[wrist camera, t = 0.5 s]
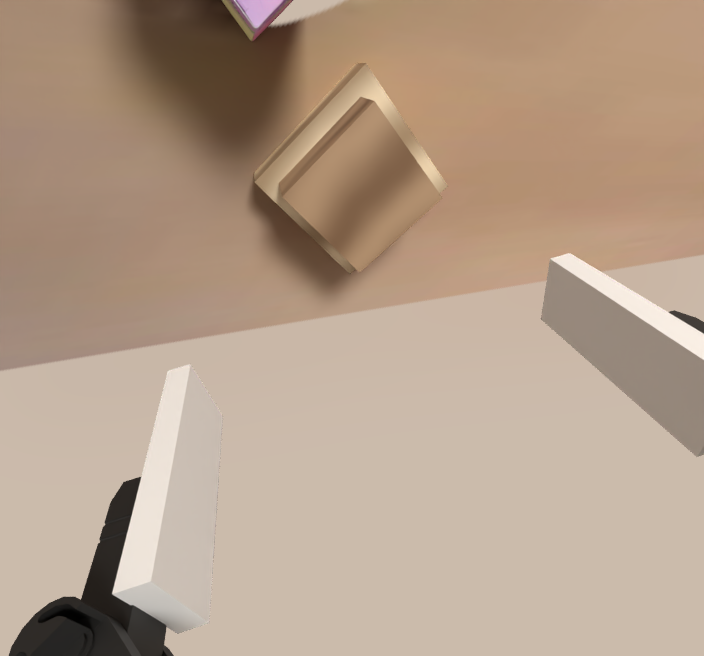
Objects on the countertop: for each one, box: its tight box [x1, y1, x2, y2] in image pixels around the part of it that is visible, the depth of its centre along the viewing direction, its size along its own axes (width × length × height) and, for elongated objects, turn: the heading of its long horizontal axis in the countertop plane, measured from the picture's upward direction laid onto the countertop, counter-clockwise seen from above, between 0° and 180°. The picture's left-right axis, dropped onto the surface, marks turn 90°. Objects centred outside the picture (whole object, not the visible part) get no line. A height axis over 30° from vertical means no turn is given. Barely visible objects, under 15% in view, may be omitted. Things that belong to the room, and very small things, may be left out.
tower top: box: [279, 97, 442, 272], centre depth 30 cm, size 9×9×4 cm
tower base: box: [254, 63, 448, 274], centre depth 34 cm, size 12×12×4 cm
